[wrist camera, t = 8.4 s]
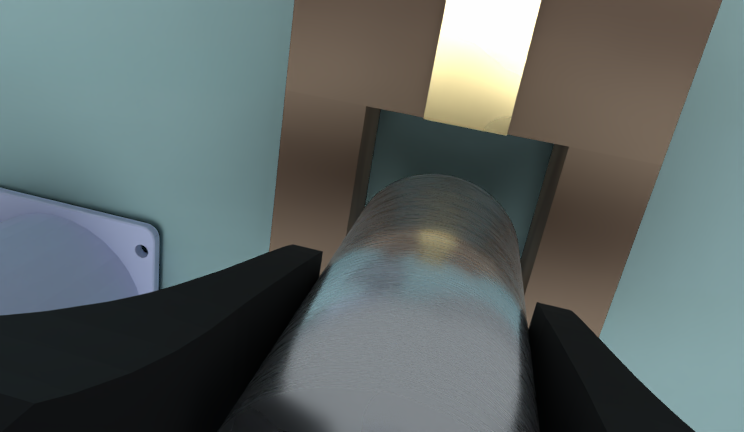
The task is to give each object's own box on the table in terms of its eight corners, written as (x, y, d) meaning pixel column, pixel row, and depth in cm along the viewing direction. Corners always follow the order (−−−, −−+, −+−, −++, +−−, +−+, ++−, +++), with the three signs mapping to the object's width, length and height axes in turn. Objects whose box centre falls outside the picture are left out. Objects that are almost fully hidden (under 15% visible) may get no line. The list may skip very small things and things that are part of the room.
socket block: (576, 323, 19) (587, 366, 16) (292, 254, 20) (265, 285, 18) (713, -76, 14) (756, -93, 12) (337, -130, 16) (310, -155, 13)
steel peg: (496, 343, 14) (500, 711, 7) (342, 305, 14) (188, 606, 7) (538, 194, 12) (606, 453, 5) (366, 157, 13) (202, 344, 6)
